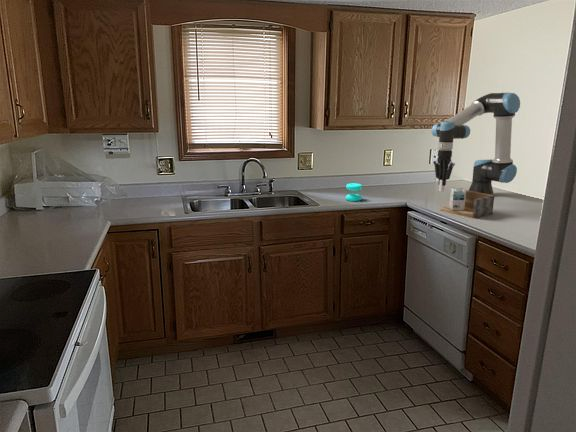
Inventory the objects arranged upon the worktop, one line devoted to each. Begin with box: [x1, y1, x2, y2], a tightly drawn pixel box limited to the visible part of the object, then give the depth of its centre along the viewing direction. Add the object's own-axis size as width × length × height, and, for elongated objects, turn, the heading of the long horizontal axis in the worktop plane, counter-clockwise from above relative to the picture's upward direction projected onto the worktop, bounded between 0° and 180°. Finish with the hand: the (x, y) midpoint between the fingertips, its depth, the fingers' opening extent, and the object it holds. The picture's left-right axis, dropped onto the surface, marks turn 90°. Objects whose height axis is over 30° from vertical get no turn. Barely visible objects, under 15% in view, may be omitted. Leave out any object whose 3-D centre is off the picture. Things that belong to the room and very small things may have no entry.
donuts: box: [345, 182, 363, 202], centre depth 276 cm, size 10×10×10 cm
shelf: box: [439, 189, 495, 219], centre depth 244 cm, size 16×22×10 cm
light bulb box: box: [448, 187, 466, 211], centre depth 246 cm, size 11×7×11 cm, turn 169°
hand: (441, 191), depth 254 cm, fingers closed
